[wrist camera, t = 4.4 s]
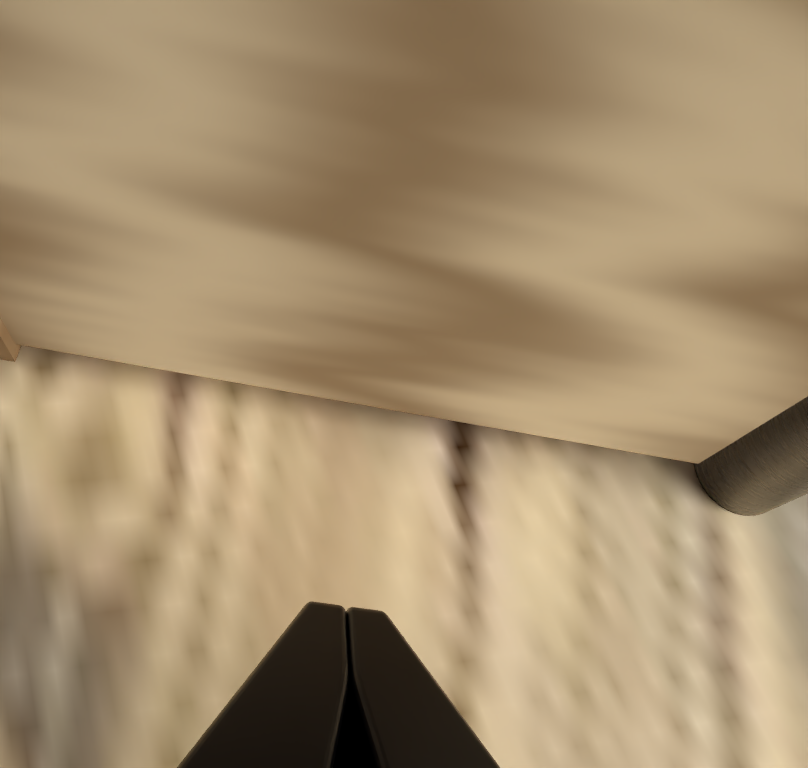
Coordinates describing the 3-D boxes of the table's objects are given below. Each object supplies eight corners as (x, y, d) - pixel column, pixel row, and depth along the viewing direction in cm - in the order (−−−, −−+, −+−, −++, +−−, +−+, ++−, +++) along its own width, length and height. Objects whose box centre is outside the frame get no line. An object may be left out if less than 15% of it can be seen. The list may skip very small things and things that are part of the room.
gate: (694, 400, 18) (1413, -149, 7) (700, 479, 17) (1538, -7, 6) (-43, 262, 16) (-686, -833, 5) (-79, 345, 15) (-971, -770, 4)
